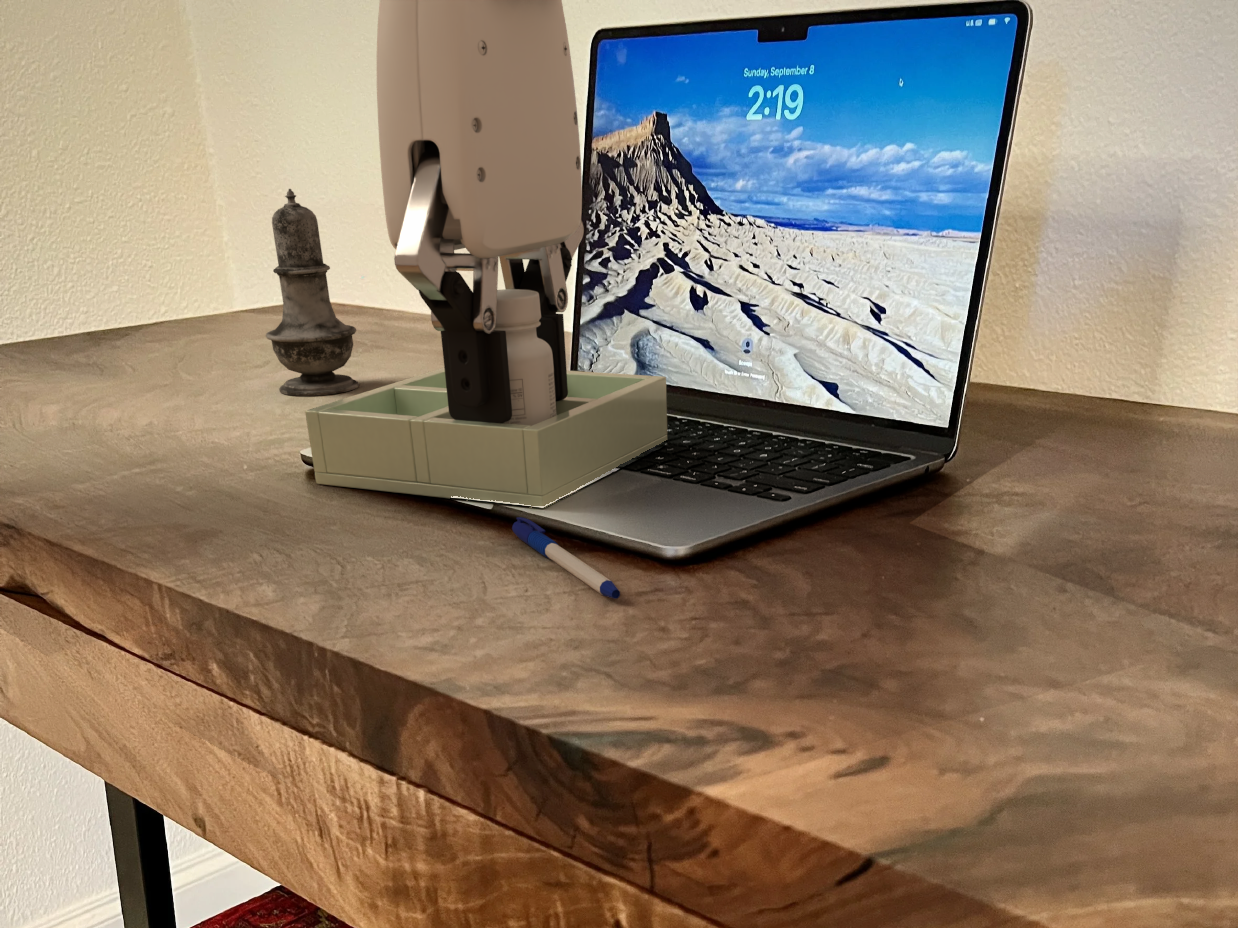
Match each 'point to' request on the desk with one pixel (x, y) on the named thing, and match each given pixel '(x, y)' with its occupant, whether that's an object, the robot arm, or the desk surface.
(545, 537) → the ballpoint pen
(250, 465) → the desk surface
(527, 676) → the desk surface
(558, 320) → the robot arm
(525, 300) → the pill bottle
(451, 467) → the tray
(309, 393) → the salt shaker
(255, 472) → the desk surface
